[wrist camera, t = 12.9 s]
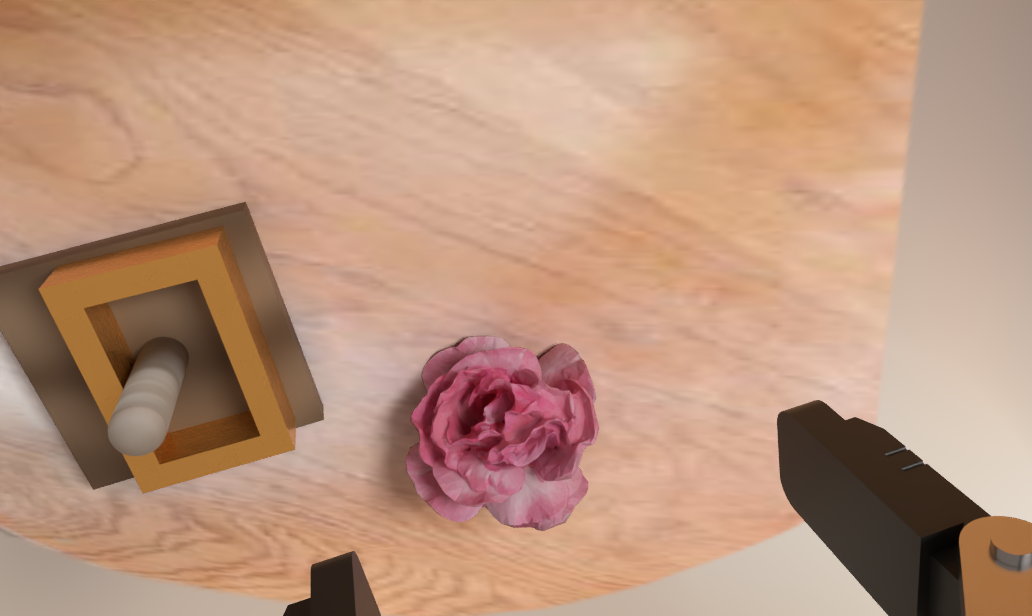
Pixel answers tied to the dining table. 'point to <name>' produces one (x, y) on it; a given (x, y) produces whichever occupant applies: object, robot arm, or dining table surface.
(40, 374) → the keeper base
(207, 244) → the orange rectangular frame
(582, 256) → the dining table surface
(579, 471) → the flower
